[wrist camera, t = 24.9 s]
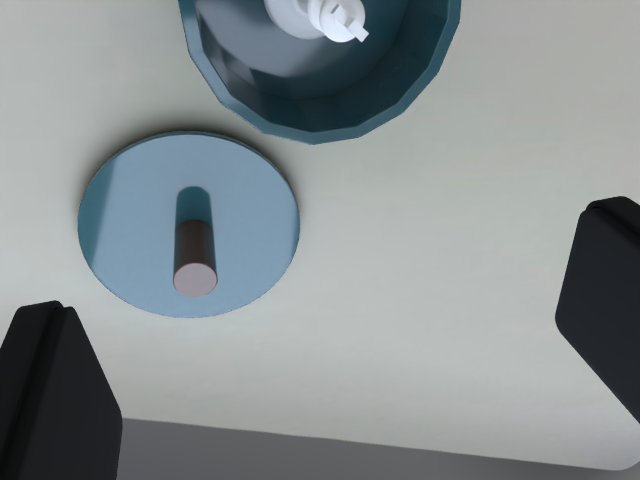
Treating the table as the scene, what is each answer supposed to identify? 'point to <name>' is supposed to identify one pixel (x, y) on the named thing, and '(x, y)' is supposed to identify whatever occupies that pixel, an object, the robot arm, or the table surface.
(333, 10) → the chess piece
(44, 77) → the table surface
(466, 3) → the table surface
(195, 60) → the bowl
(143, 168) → the bowl lid
